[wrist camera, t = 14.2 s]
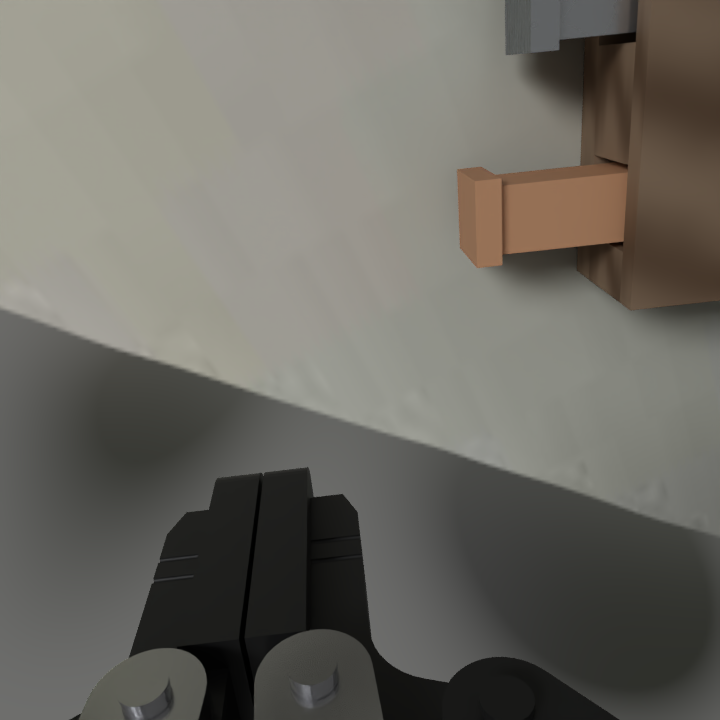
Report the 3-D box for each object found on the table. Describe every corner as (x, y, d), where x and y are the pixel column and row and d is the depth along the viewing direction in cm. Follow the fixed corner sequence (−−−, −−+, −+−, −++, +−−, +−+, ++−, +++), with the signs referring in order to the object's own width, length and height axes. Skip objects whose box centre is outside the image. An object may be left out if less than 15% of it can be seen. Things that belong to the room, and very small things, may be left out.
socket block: (590, -108, 31) (662, -156, 25) (781, -127, 31) (903, -178, 25) (576, 270, 38) (630, 310, 32) (733, 253, 38) (817, 289, 32)
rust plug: (457, 169, 34) (474, 180, 30) (716, 142, 34) (764, 150, 30) (460, 247, 35) (477, 267, 32) (707, 220, 36) (753, 237, 32)
